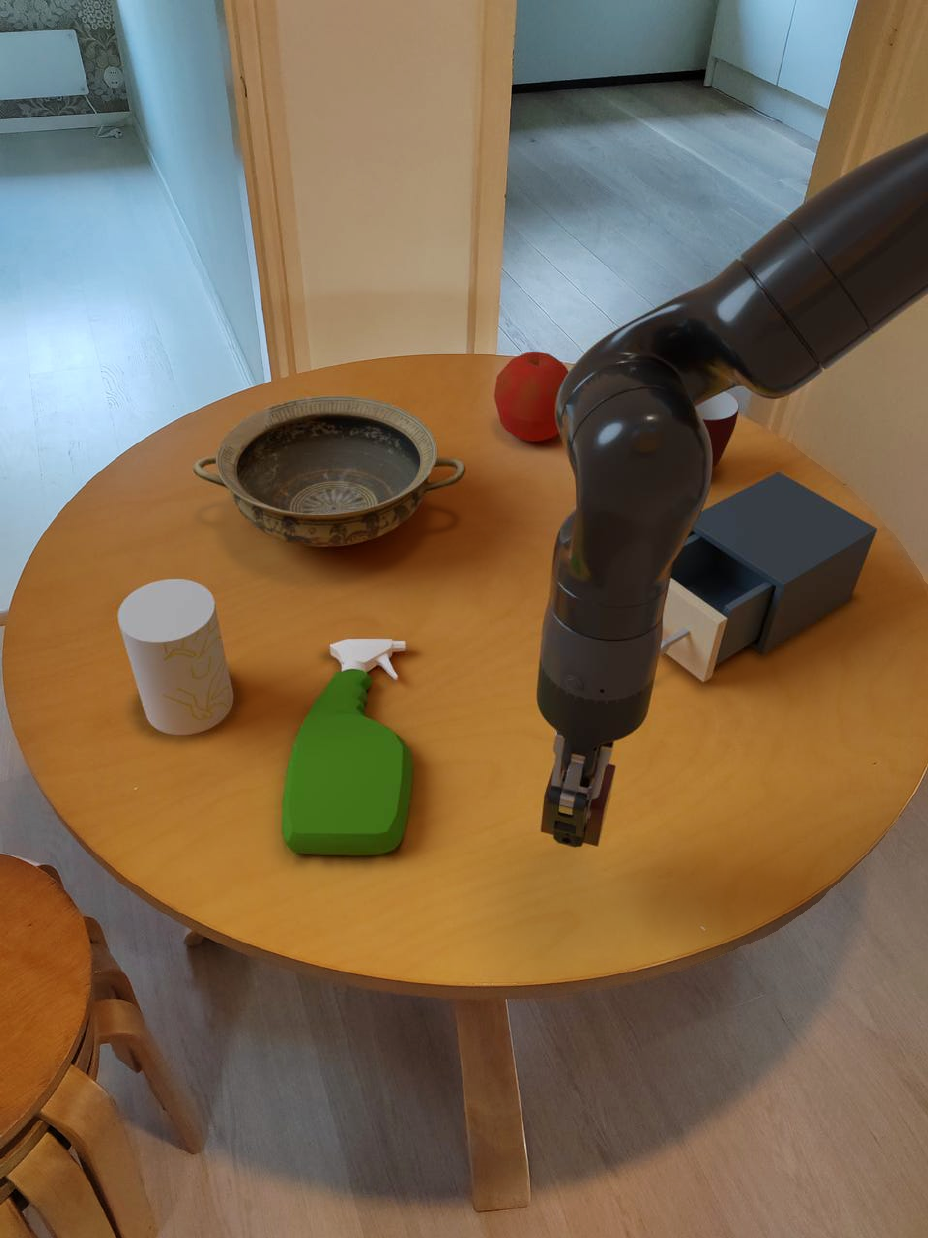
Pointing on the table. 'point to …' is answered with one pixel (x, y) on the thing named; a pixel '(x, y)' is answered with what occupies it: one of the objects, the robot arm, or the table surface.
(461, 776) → the table surface
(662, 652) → the drawer
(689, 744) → the table surface
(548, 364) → the apple
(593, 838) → the block
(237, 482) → the ceramic bowl
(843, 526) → the cabinet
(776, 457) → the table surface
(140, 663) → the cup
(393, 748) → the spray bottle
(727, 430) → the mug
